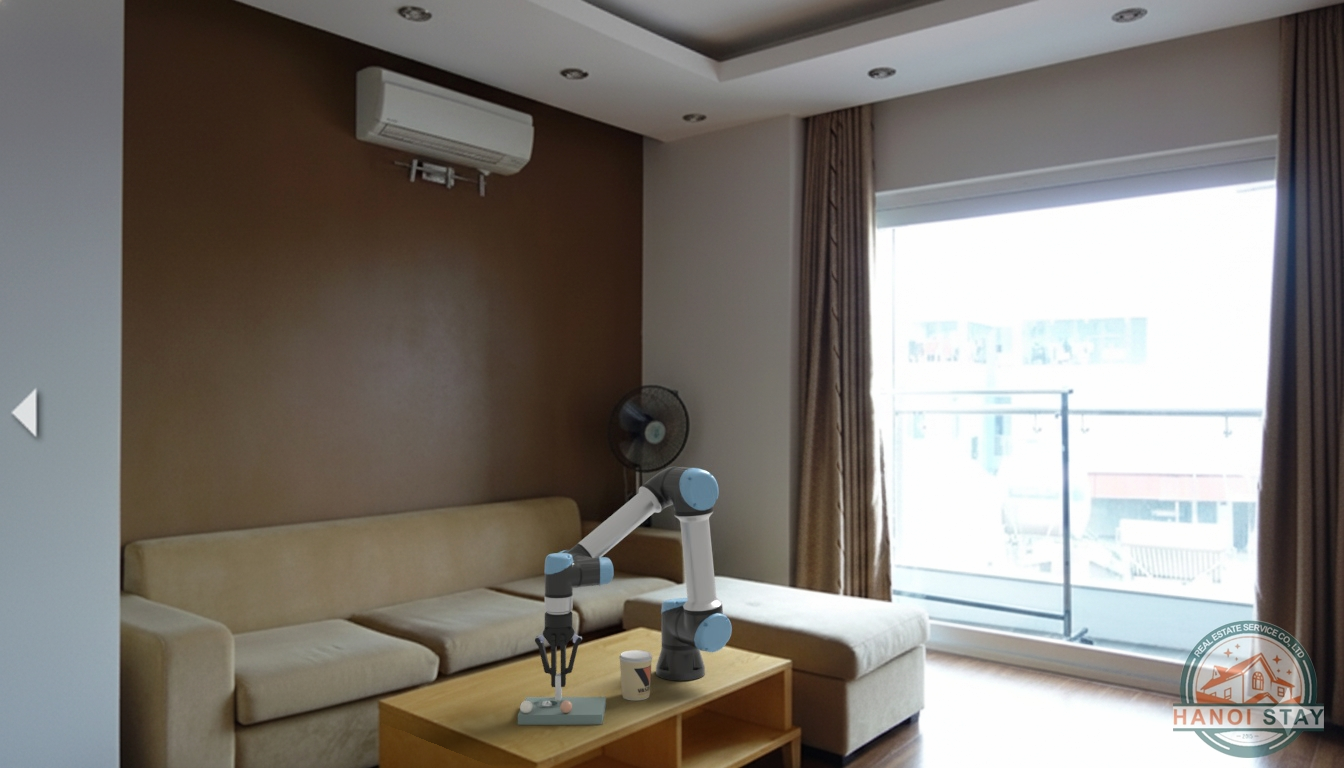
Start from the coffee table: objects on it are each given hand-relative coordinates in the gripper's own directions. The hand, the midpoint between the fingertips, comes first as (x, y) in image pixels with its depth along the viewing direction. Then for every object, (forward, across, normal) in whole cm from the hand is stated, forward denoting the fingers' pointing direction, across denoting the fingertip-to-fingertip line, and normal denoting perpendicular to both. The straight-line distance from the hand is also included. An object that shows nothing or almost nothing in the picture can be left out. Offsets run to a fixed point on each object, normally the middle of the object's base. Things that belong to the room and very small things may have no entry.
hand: (558, 698), depth 259 cm
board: (+4, -2, +2) cm, 4 cm away
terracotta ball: (0, -3, +8) cm, 9 cm away
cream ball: (0, +8, +8) cm, 11 cm away
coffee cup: (+4, -20, -14) cm, 25 cm away
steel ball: (+2, +3, 0) cm, 4 cm away
